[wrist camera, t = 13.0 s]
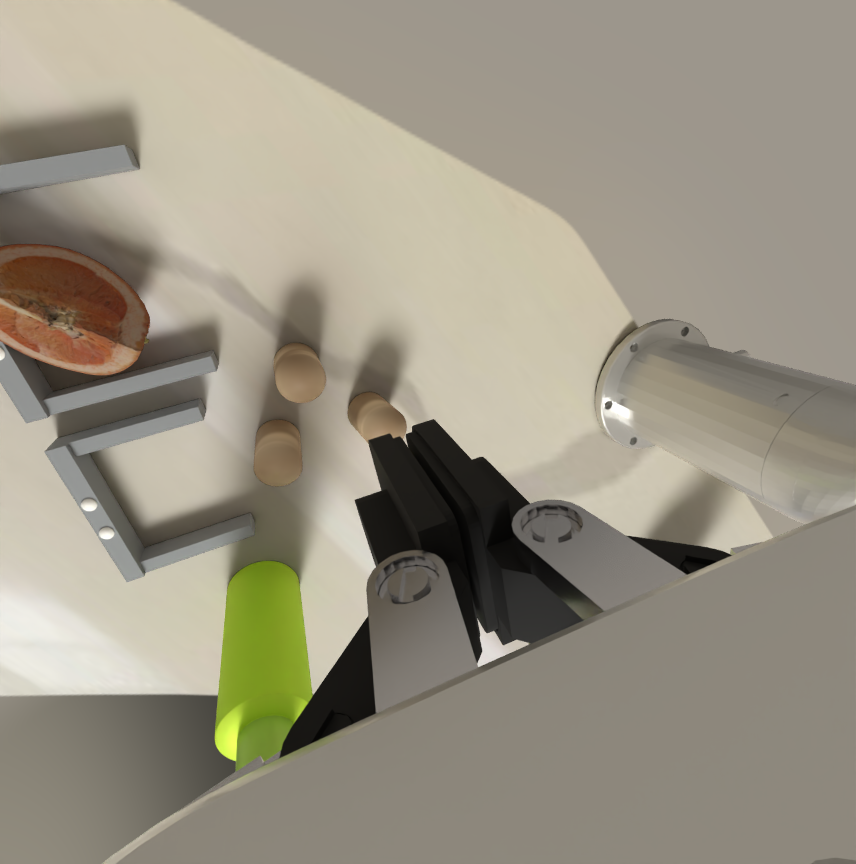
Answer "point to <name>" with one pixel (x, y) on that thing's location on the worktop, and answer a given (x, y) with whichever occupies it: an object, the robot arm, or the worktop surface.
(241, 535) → the corral
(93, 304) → the fruit slice
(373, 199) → the worktop surface
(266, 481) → the cork
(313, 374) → the cork
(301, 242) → the worktop surface
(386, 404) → the cork
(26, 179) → the corral
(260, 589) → the soap dispenser
